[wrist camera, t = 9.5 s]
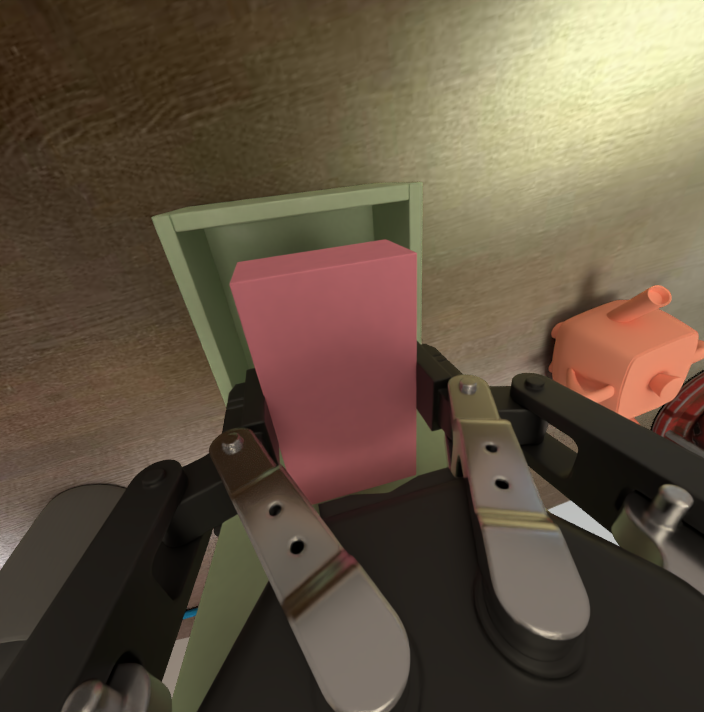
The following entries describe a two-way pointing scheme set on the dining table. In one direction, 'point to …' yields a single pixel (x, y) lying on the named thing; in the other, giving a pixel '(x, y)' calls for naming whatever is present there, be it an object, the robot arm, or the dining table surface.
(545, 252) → the dining table surface
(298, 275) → the pink rectangular box
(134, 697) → the robot arm
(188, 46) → the dining table surface
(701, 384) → the hourglass
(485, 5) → the dining table surface
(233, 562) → the lid
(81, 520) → the mug
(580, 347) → the teapot
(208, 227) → the chest
